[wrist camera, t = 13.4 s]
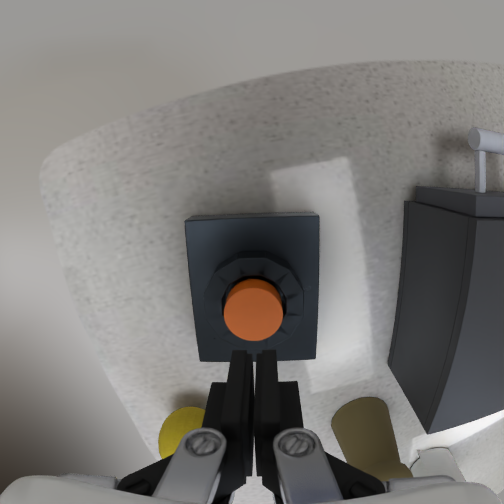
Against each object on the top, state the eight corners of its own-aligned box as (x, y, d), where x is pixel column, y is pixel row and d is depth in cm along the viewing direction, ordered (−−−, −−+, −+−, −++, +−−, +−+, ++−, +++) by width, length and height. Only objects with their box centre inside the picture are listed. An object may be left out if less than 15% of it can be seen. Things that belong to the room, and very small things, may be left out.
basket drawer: (414, 130, 20) (473, 117, 13) (514, 146, 20) (574, 147, 12) (400, 347, 24) (438, 402, 17) (494, 330, 24) (539, 368, 16)
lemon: (195, 436, 29) (181, 495, 21) (159, 402, 28) (134, 460, 20) (238, 418, 28) (231, 482, 20) (201, 381, 27) (184, 445, 19)
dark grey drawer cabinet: (404, 200, 22) (476, 219, 13) (512, 205, 22) (584, 223, 13) (387, 364, 26) (426, 435, 17) (488, 345, 25) (539, 393, 16)
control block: (191, 216, 23) (177, 224, 19) (314, 211, 23) (324, 219, 19) (204, 347, 26) (195, 375, 22) (312, 345, 25) (319, 372, 22)
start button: (224, 279, 20) (221, 288, 19) (281, 277, 20) (282, 287, 19) (228, 328, 21) (226, 341, 20) (281, 327, 21) (283, 340, 20)
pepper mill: (324, 438, 28) (340, 523, 18) (340, 396, 27) (367, 487, 16) (376, 437, 28) (403, 514, 18) (396, 396, 27) (436, 476, 16)
